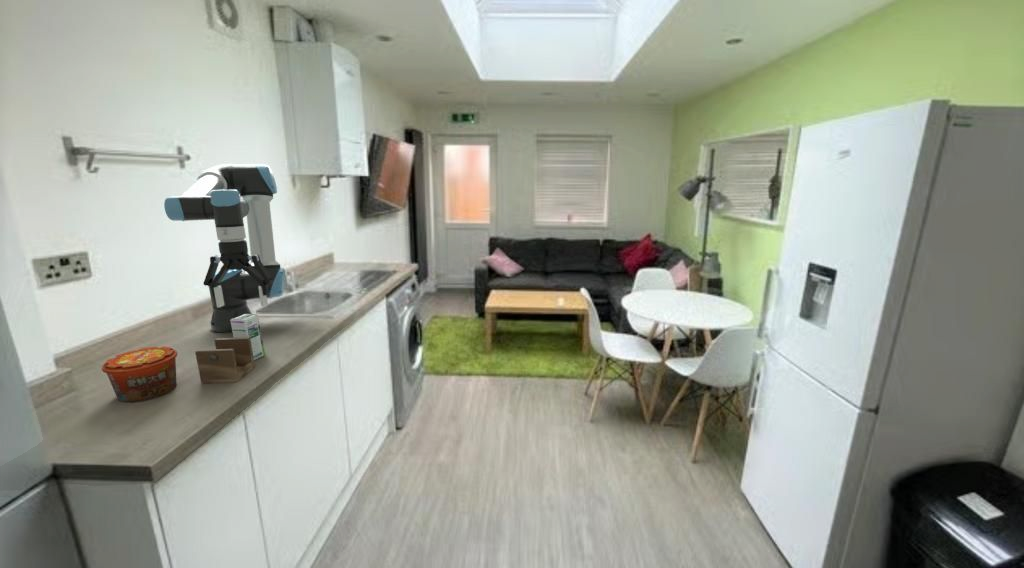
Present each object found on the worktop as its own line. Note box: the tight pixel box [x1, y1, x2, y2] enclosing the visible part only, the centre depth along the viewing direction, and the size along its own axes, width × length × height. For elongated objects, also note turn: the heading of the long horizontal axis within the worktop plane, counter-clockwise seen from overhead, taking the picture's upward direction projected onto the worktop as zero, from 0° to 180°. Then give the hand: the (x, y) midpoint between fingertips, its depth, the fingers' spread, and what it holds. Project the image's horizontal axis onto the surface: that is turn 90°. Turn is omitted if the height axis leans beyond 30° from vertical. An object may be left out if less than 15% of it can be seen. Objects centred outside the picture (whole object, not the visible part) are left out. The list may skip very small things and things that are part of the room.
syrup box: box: [230, 313, 266, 361], centre depth 142 cm, size 6×6×14 cm
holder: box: [194, 337, 256, 384], centre depth 130 cm, size 12×10×10 cm
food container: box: [101, 346, 178, 403], centre depth 120 cm, size 16×16×11 cm
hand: (242, 305), depth 139 cm, fingers open, 13 cm apart
